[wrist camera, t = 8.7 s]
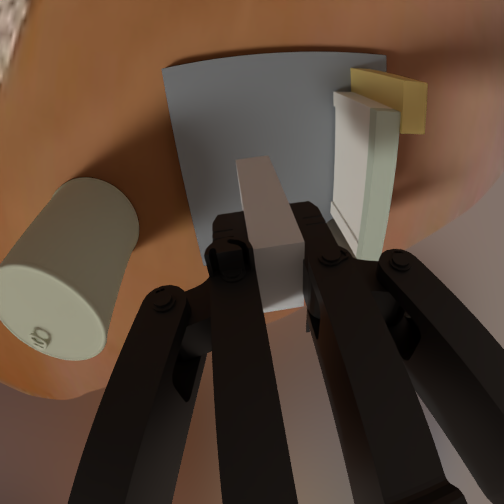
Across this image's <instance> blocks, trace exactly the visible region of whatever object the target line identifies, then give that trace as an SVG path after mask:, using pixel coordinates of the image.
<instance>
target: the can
mask: <svg viewBox="0 0 504 504" xmlns="http://www.w3.org/2000/svg"><path fill="white" fill-rule="evenodd" d="M138 236H139V222H138V218H137V215H136V212H135V210H134V208H133V206H132V204H131V203H130V201H129V200H128V198H127V197H126V196H125V195H124V194H123V193H122V192H121V191H120V190H118V189H117V188H116V187H114V186H113V185H111V184H109V183H107V182H105V181H102V180H99V179H96V178H88V177H84V178H77V179H73V180H70V181H68V182H66V183H65V184H63V185H62V186H61V187H60V188H58V190H57V191H56V192H55V193H54V195H53V197H52V199H51V200H50V201H49V202H48V204H47V205H46V206H45V207H44V208H43V210H42V211H41V212H40V213H39V215H38V216H37V217H36V218H35V219H34V221H33V222H32V223H31V224H30V226H29V227H28V228H27V230H26V231H25V232H24V233H23V235H22V236H21V237H20V239H19V240H18V241H17V242H16V244H15V245H14V246H13V248H12V249H11V250H10V252H9V253H8V254H7V256H6V257H5V259H4V260H3V261H2V263H1V264H0V320H1V321H2V322H3V324H4V325H5V326H6V327H7V328H8V329H9V330H10V331H11V332H12V333H13V334H14V335H15V336H16V337H17V338H19V339H20V340H21V341H22V342H24V343H25V344H27V345H28V346H30V347H32V348H34V349H35V350H37V351H40V352H42V353H44V354H46V355H49V356H52V357H55V358H59V359H64V360H85V359H89V358H92V357H94V356H96V355H98V354H99V353H100V352H101V351H102V350H103V348H104V347H105V345H106V341H107V333H108V329H109V324H110V321H111V317H112V313H113V309H114V306H115V302H116V299H117V295H118V292H119V288H120V285H121V282H122V279H123V275H124V272H125V269H126V266H127V263H128V261H129V258H130V255H131V253H132V251H133V249H134V248H135V246H136V243H137V241H138Z"/></svg>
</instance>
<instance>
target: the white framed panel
mask: <svg viewBox="0 0 504 504" xmlns="http://www.w3.org/2000/svg"><path fill="white" fill-rule="evenodd" d="M333 103H334V107H335V164H334V188H333V201H331V211H330V213H331V215H332V217H333V218H334V220H335V222H336V223H337V225H338V227H339V228H340V230H341V232H342V234H343V235H344V237H345V239H346V240H347V242H348V244H349V246H350V248H351V249H352V251H353V253H354V255H355V256H356V258H357V259H361V260H370V261H379V258H380V256H381V253H382V248H383V243H384V238H385V233H386V227H387V222H388V216H389V210H390V204H391V198H392V191H393V184H394V177H395V169H396V161H397V152H398V142H399V131H400V118H401V112H399V111H397V110H395V109H393V108H390V107H388V106H386V105H384V104H381V103H379V102H377V101H374V100H372V99H369V98H367V97H364V96H362V95H359V94H357V93H354V92H333Z"/></svg>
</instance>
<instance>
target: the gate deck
mask: <svg viewBox="0 0 504 504" xmlns="http://www.w3.org/2000/svg"><path fill="white" fill-rule="evenodd" d="M162 74H163V80H164V86H165V91H166V97H167V102H168V107H169V113H170V118H171V123H172V128H173V133H174V138H175V143H176V148H177V153H178V158H179V162H180V167H181V172H182V176H183V181H184V185H185V190H186V194H187V199H188V203H189V207H190V212H191V216H192V220H193V224H194V228H195V232H196V237H197V241H198V245H199V249H200V253H201V257H202V261H203V265H204V266H205V265H206V261H205V257H204V253H205V250H206V248H207V247H208V246H209V245H210V244H211V243H213V239H212V234H213V232H212V223H213V221H214V220H215V218H216V217H217V215H220V214H226V213H233V212H240V211H243V210H242V203H241V195H240V188H239V181H238V174H237V167H236V160H238V159H245V158H252V157H260V156H269V158H270V161H271V163H272V165H273V167H274V170H275V172H276V174H277V177H278V179H279V181H280V184H281V186H282V188H283V191H284V193H285V195H286V198H287V200H288V202H289V203H297V202H305V201H310V202H311V203H313V204H314V205H316V206H317V207H318V208H319V210H320V212H321V214H322V217H324V219H325V221H326V223H327V225H328V227H329V229H330V230H331V232H332V234H333V236H334V238H335V240H336V242H337V244H338V246H341V247H343V248H345V249H347V250H348V251H349V252H350V254H351V255H352V256H353V258H356V256H355V255H354V253H353V251H352V249H351V248H350V246H349V244H348V242H347V240H346V239H345V237H344V235H343V234H342V232H341V230H340V228H339V227H338V225H337V223H336V222H335V220H334V218H333V217H332V215H331V213H330V211H331V201H333V188H334V164H335V107H334V103H333V92H354V93H357V94H359V95H362V96H364V97H367V98H369V99H372V100H374V101H377V102H379V103H381V104H384V105H386V106H388V107H390V108H393V109H395V110H397V111H399V112H401V118H400V131H399V133H401V134H425V122H426V108H427V85H428V83H425V82H422V81H418V80H414V79H411V78H407V77H403V76H399V75H395V74H391V73H387V72H386V55H378V54H367V53H351V52H281V53H265V54H253V55H242V56H234V57H226V58H218V59H211V60H205V61H199V62H193V63H188V64H182V65H177V66H172V67H168V68H163V69H162ZM356 259H357V258H356Z"/></svg>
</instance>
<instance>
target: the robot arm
mask: <svg viewBox="0 0 504 504" xmlns="http://www.w3.org/2000/svg"><path fill="white" fill-rule="evenodd" d="M236 167H237V174H238V181H239V188H240V195H241V203H242V210H243V211H240V212H233V213H226V214H220V215H217V217H216V218H215V220H214V221H213V223H212V232H213V234H212V239H213V243H211V244H210V245H209V246H208V247H207V248H206V250H205V253H204V257H205V261H206V265H207V269H208V273H209V276H210V277H209V278H208V279H207V280H206V281H205V282H204V283H202V284H201V285H199V286H197V287H195V288H193V289H190V290H188V291H185V292H184V290H182V289H181V288H180V287H178V286H173V285H167V286H161V287H159V288H156V289H154V290H153V291H151V292H150V293H149V294H148V295H147V296H146V297H145V299H144V300H143V302H142V304H141V306H140V309H139V311H138V313H137V315H136V318H135V320H134V322H133V324H132V327H131V329H130V331H129V333H128V336H127V338H126V340H125V343H124V345H123V347H122V350H121V352H120V355H119V357H118V359H117V362H116V364H115V367H114V369H113V372H112V374H111V377H110V379H109V382H108V384H107V387H106V389H105V392H104V395H103V397H102V400H101V402H100V405H99V408H98V411H97V413H96V416H95V419H94V422H93V424H92V428H91V430H90V433H89V436H88V439H87V442H86V445H85V448H84V451H83V454H82V457H81V460H80V463H79V466H78V470H77V473H76V476H75V480H74V483H73V487H72V490H71V494H70V497H69V501H68V504H172V500H173V495H174V491H175V486H176V481H177V477H178V473H179V469H180V464H181V460H182V456H183V451H184V447H185V443H186V438H187V434H188V430H189V426H190V422H191V418H192V414H193V409H194V405H195V401H196V397H197V393H198V389H199V385H200V380H201V377H202V373H203V369H204V364H205V361H206V356H207V353H208V352H211V351H212V363H213V384H214V402H215V418H216V432H217V445H218V459H219V470H220V481H221V492H222V502H223V504H298V500H297V495H296V489H295V484H294V479H293V473H292V467H291V462H290V456H289V450H288V445H287V440H286V434H285V428H284V423H283V417H282V412H281V406H280V401H279V395H278V390H277V384H276V378H275V373H274V368H273V363H272V356H271V351H270V346H269V340H268V334H267V329H266V323H265V318H264V312H271V311H277V310H283V309H289V308H295V307H301V306H304V299H305V302H306V305H307V320H306V332H310V331H311V335H312V338H313V342H314V345H315V349H316V352H317V356H318V359H319V363H320V367H321V370H322V374H323V378H324V382H325V385H326V389H327V393H328V397H329V401H330V404H331V408H332V412H333V416H334V420H335V424H336V428H337V432H338V436H339V439H340V444H341V448H342V452H343V456H344V460H345V465H346V469H347V473H348V477H349V481H350V486H351V490H352V495H353V499H354V503H355V504H467V502H466V499H465V497H464V495H463V494H462V492H461V491H460V490H459V489H458V488H457V487H455V486H453V485H452V484H450V483H449V482H448V481H447V479H446V477H445V474H444V471H443V468H442V465H441V462H440V458H439V456H438V452H437V450H436V447H435V443H434V440H433V438H432V435H431V432H430V429H429V426H428V423H427V421H426V418H425V415H424V413H423V410H422V407H421V405H420V402H419V400H418V397H417V394H418V395H419V397H420V398H421V399H422V401H423V402H424V404H425V405H426V407H427V408H428V409H429V411H430V412H431V414H432V415H433V417H434V418H435V419H436V421H437V423H438V424H439V425H440V427H441V428H442V430H443V431H444V433H445V434H446V436H447V437H448V439H449V440H450V442H451V443H452V445H453V446H454V448H455V449H456V451H457V452H458V454H459V455H460V457H461V459H462V460H463V462H464V463H465V465H466V466H467V468H468V470H469V471H470V473H471V474H472V476H473V477H474V479H475V480H476V482H477V484H478V485H479V487H480V488H481V490H482V491H483V493H484V494H485V496H486V497H487V498H488V499H489V500H490V501H491V502H492V503H493V504H504V349H503V348H502V347H501V345H500V344H499V343H498V342H497V341H496V340H495V339H494V337H493V336H492V335H491V334H490V333H489V332H488V330H487V329H486V328H485V327H484V326H483V325H482V324H481V323H480V321H479V320H478V319H477V318H476V317H475V316H474V315H473V314H472V313H471V312H470V311H469V310H468V309H467V307H465V305H464V304H463V303H462V302H461V301H460V300H459V299H458V298H457V297H456V296H455V295H454V294H453V293H452V292H451V291H450V290H449V289H448V288H447V287H446V286H445V285H444V284H443V283H442V282H441V281H440V280H439V279H438V278H437V277H436V276H435V275H434V274H433V273H432V272H431V271H430V270H429V269H428V268H427V267H426V266H425V265H424V264H423V263H422V262H421V261H419V260H418V259H417V258H416V257H415V256H414V255H412V254H411V253H409V252H407V251H404V250H401V249H391V250H386V251H385V252H383V253H382V254H381V256H380V258H379V261H370V260H361V259H356V258H353V256H352V255H351V254H350V252H349V251H348V250H347V249H345V248H343V247H341V246H338V244H337V242H336V240H335V238H334V236H333V234H332V232H331V230H330V229H329V227H328V225H327V223H326V221H325V219H324V217H322V214H321V212H320V210H319V208H318V207H317V206H316V205H314V204H313V203H311V202H310V201H305V202H297V203H289V202H288V200H287V198H286V195H285V193H284V191H283V188H282V186H281V184H280V181H279V179H278V177H277V174H276V172H275V170H274V167H273V165H272V163H271V161H270V158H269V156H260V157H252V158H245V159H238V160H236ZM415 391H416V392H417V394H416V392H415Z"/></svg>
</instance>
